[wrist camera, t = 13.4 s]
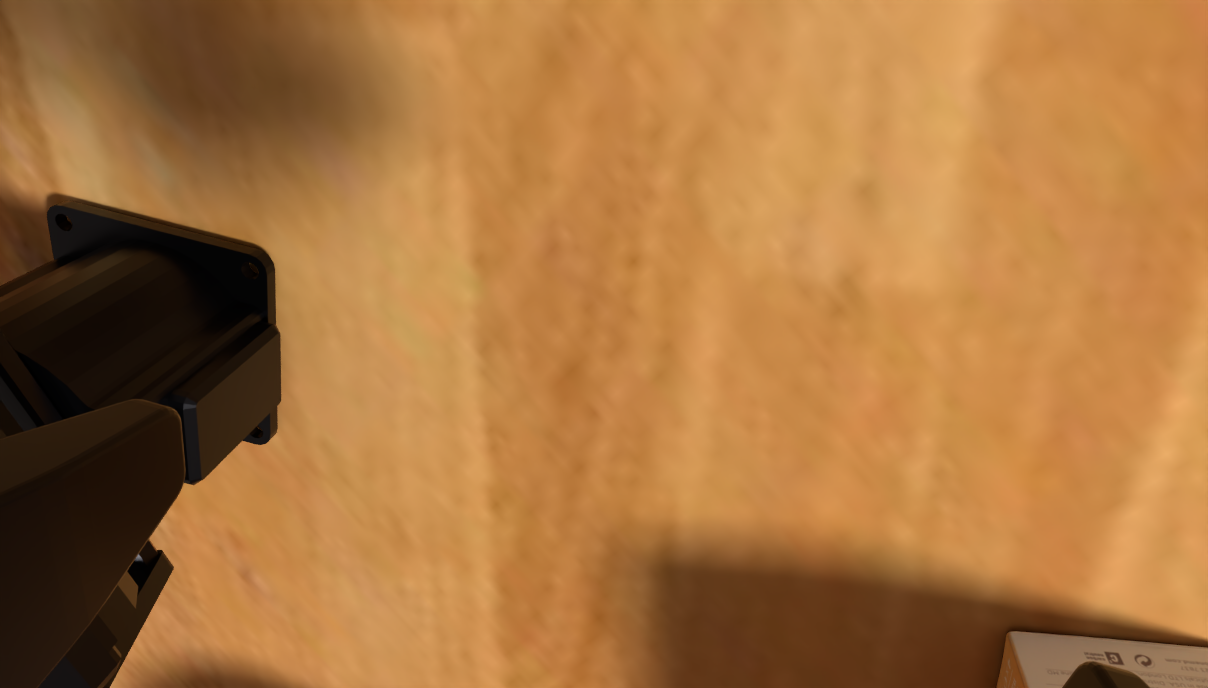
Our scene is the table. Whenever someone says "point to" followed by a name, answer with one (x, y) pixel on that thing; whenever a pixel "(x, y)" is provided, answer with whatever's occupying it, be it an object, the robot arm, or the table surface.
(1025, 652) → the small box
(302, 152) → the table surface
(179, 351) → the robot arm
